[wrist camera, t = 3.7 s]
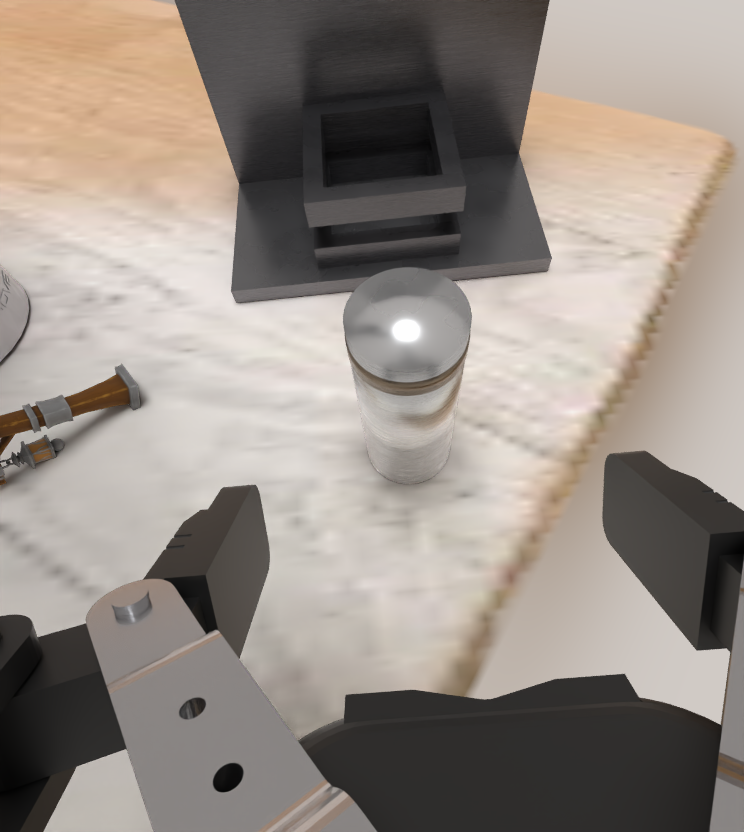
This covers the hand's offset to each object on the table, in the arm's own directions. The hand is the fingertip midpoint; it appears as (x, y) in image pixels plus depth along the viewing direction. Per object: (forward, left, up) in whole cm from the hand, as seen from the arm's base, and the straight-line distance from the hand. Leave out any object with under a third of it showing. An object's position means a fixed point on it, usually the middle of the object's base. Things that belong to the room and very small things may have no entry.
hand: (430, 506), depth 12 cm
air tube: (0, +7, -11) cm, 13 cm away
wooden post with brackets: (-17, +9, -12) cm, 22 cm away
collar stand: (0, +22, -11) cm, 24 cm away
